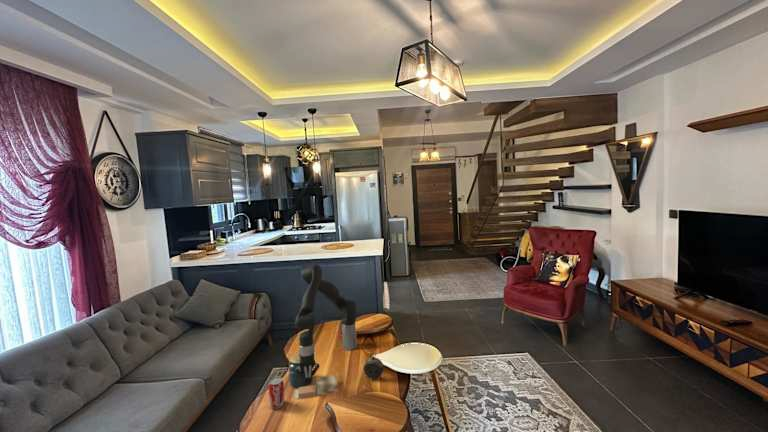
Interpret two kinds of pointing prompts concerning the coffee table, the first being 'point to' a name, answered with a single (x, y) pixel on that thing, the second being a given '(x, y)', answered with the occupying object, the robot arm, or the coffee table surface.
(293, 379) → the canister
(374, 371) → the alarm clock
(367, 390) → the coffee table surface
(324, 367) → the coffee table surface
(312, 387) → the pink block
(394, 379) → the coffee table surface
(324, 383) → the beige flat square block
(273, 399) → the soda can
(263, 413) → the coffee table surface
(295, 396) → the mat
